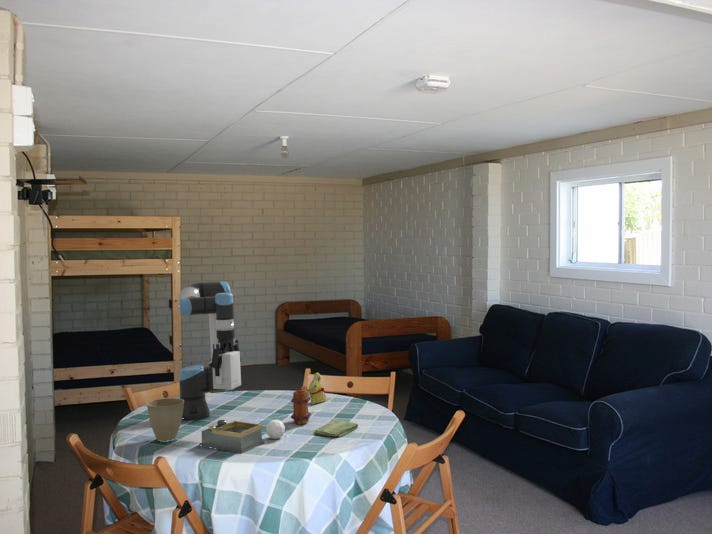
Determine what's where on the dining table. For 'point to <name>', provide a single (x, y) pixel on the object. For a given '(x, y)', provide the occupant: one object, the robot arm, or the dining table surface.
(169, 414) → the plant pot
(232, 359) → the supplement box
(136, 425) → the dining table surface
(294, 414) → the mug
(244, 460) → the dining table surface
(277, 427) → the geometric ball
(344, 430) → the washcloth
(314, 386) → the chocolate bunny
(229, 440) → the grey and gold block
